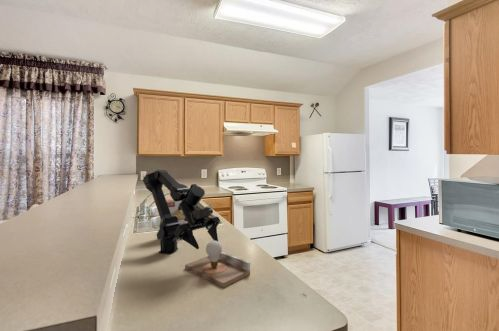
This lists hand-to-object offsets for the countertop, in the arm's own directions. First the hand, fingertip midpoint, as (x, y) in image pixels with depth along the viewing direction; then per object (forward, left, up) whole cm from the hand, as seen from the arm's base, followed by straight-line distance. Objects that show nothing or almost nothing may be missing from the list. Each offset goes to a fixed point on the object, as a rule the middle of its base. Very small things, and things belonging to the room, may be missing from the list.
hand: (208, 245), depth 98 cm
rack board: (+4, -1, -9) cm, 10 cm away
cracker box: (-31, +35, -10) cm, 48 cm away
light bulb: (+3, -2, -8) cm, 9 cm away
